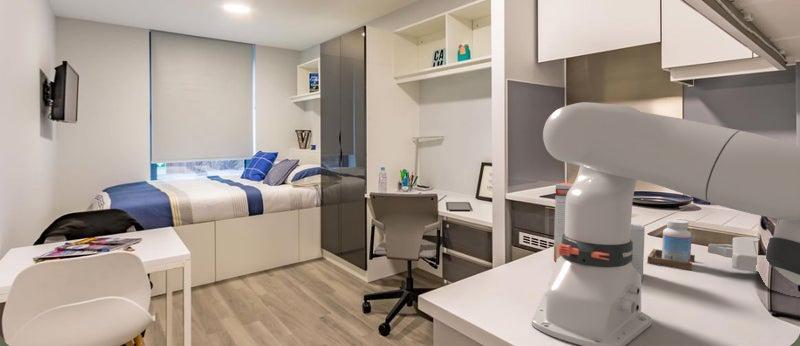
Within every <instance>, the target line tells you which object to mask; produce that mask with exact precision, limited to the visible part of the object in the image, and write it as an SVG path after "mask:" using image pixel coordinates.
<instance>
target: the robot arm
mask: <svg viewBox="0 0 800 346" xmlns="http://www.w3.org/2000/svg"><path fill="white" fill-rule="evenodd" d="M542 141H543V144H544V147H545V149H546V151H547V152H548V153H549V154H550V156H551V157H553V158H554V159H555V160H557V161H560V162H564V163H566V164H571V165H575V166H579V169H578V173H577V176H576V177H575V180H574V182H573V183H574V184H573V185H572V187H571V188H570V189H569V191H568V192H567V195H566V205H565V233H564V234H563V235H562V240H561V244H559V247H558V253H559V255H561V257H559V258H558V259H557V260H556V261H555V262H556V264H555V266H554V269H553V272H552V274H551V278H550V281H549V283H548V286H547V287H548V288H547V290H546V291H545V292H544V293H543V295H542V297H541V299H540V302H539V303H538V306H537V307H536V310H535V312H534V314H533V316H532V319H531V326H532V327H534V328H535V329H537V330H538V331H540V332H542V333H544V334H546V335H549V336H551V337H554V338H557V339H559V340H561V341H565V342H567V343H568V342H569V343H571V344H575V345H579V346H626V345H628V344H629V343H630V342H632V340H634V339H636V338H637V337H638V336H639V335H641V334H642V333H643V332H644V331H645V330H646V329H648V328H649V327H650V326H652V324H653V323H652V316H649V315H648V314H646V313H644V312H643V311H642V281H641V275H640V274H639V273H638V272H637V271H636V270H635V269H634V267H633V266H632V264H631V261H632V256H633V242H632V240H631V239H630V234H631V224H632V213H633V201H634V193H635V190H636V186H637V181H640V182H644V183H647V184H652V185H655V186H658V187H662V188H665V189H669V190H671V191H673V192H677V193H680V194H683V195H685V196H689V197H692V198H696V199H698V200H701V201H704V202H708V203H710V204H714V205H718V206H720V207H722V208H723V207H724V208H727V209H731V210H734V211H735V210H736V211H738V212H743V213H747V214H751V215H756V216H760V217H761V216H762V217H764V218H765V217H767V218H773V219H778V223H777V225H776V229H775V232H774V234H773V237H769V238H768V239H769V242H768V246H767V251H766V259H767V261H768V262H769V264H770V265H771V267H773V268H774V269H776V270H778V272H779V273H781V274H782V275H783V276H784V277H786V278H785V279H787V280H789V281H790V282H792V283H794V284H795V285H798V286H800V146H799V145H796V144H793V143H790V142H787V141H783V140H780V139H776V138H774V137H770V136H766V135H761V134H758V133H754V132H748V131H743V130H739V129H735V128H729V127H724V126H721V125H720V126H719V125H715V124H712V123H711V124H710V123H704V122H702V121H701V122H700V121H695V120H689V119H687V118H686V119H685V118H681V117H674V116H668V115H661V114H657V113H650V112H644V111H640V110H638V109H636V108H635V107H632V106H630V105H626V104H625V105H624V104H613V103H602V102H600V103H599V102H591V101H590V102H589V101H588V102H587V101H585V102H581V101H580V102H576V103H572V104H569V105H565V106H562V107H560V108H557V109H556V110H555V111H553V112H552V113H551V114H550V115H549V116H548V118H547V120H546V121H545V123H544V127H543V132H542ZM758 238H759V237H754V236H753V237H751V236H750V237H749V236H735V237H733V238H732V243H731V244H728V243H726V244H725V243H724V244H722V243H721V244H720V243H719V244H717V243H716V244H714V243H709V244H708V246H707V253H709V254H715V255H718V256H720V257H721V256H722V257H724V258H731V267H732V268H733V269H736V270H739V271H745V272H747V271H748V272H756V265H757V257H758ZM756 273H757V272H756Z"/></svg>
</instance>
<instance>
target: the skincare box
mask: <svg viewBox="0 0 800 346" xmlns="http://www.w3.org/2000/svg"><path fill="white" fill-rule="evenodd" d="M630 239H631V240H632V242H633V256H632V261H631V264H632V266H633V267H634V269H635V270H636V271H637V272H638V273H639V274H640V275H641V282H642V281H643V279H644V259H645V258H644V257H645V256H644V254H645V225H644V224H637V223H631V234H630Z"/></svg>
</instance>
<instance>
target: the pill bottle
mask: <svg viewBox="0 0 800 346" xmlns="http://www.w3.org/2000/svg"><path fill="white" fill-rule="evenodd" d="M689 223H690V222H689V221H688V220H685V219H675V218H672V219H671V218H670V219H667V220H666V228H664V229H663V231H662V243H661V244H662V247H661V250H662V257H661V259H668V260H674V261H680V262H686V263H691V261H690V257H691V255H692V251H691V250H692V232H691V231H690V230H688V228H689V226H690V225H689Z"/></svg>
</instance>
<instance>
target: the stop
mask: <svg viewBox="0 0 800 346" xmlns="http://www.w3.org/2000/svg"><path fill="white" fill-rule="evenodd" d="M660 257H661V258H660ZM695 257H696V256H695V254H691V257H690V263H686V262H680V261H674V260H668V259H662V249H655V248H653V249H652V250H651V252H650V253H649V254H648V256H647V264H650V265H656V266H664V267H668V268H669V267H670V268H674V269H681V270H686V271H692V270H693V263H691V262H695Z"/></svg>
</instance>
